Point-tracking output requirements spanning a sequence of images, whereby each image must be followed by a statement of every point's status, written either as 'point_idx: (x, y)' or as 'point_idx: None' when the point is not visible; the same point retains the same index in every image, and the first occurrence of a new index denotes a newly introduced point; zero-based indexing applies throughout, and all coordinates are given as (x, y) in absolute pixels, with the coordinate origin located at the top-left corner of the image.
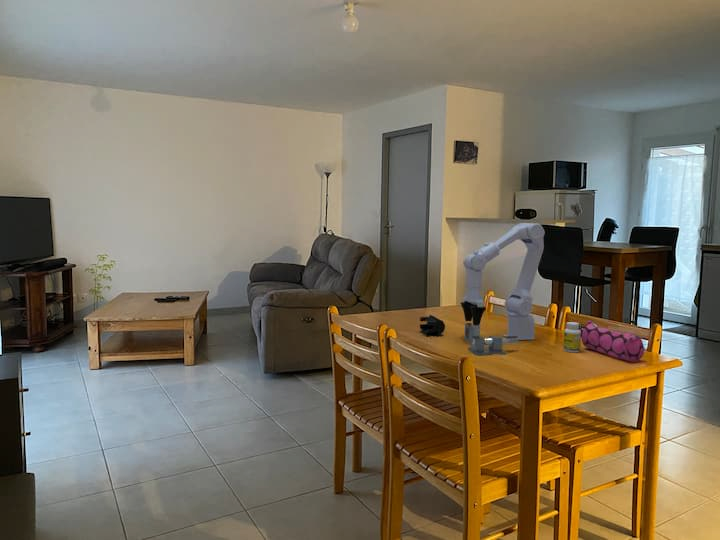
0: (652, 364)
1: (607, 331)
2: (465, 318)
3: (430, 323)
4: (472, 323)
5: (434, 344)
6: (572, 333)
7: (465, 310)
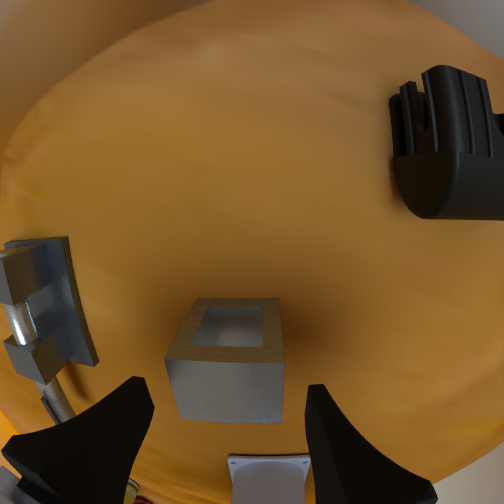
0: None
1: None
2: (317, 397)
3: (434, 92)
4: (254, 404)
5: (180, 77)
6: None
7: (328, 460)
